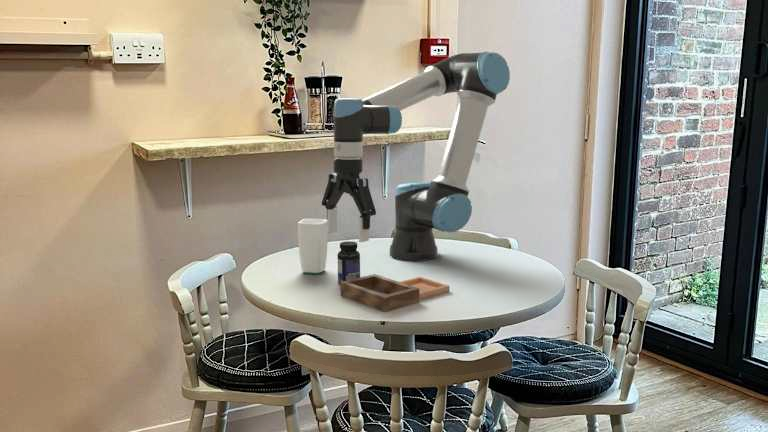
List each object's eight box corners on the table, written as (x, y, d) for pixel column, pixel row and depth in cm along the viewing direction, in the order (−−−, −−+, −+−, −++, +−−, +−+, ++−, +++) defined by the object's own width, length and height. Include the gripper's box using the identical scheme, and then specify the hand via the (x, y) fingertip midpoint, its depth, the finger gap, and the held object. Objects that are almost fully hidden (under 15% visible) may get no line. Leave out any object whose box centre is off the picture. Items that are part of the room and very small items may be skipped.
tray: (389, 290, 177) (389, 284, 177) (419, 282, 185) (419, 276, 184) (419, 300, 169) (419, 294, 169) (449, 291, 176) (449, 285, 176)
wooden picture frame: (340, 295, 173) (340, 282, 172) (374, 286, 180) (374, 274, 180) (384, 312, 160) (384, 297, 160) (419, 302, 168) (419, 288, 167)
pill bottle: (363, 280, 186) (363, 241, 184) (355, 286, 180) (355, 246, 178) (342, 278, 188) (342, 239, 186) (334, 284, 182) (333, 244, 180)
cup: (297, 274, 192) (296, 223, 189) (306, 267, 199) (305, 218, 196) (321, 276, 190) (320, 224, 187) (329, 269, 197) (329, 219, 194)
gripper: (308, 154, 184) (309, 230, 188) (367, 162, 166) (366, 247, 170) (330, 153, 189) (330, 227, 193) (390, 161, 171) (389, 243, 175)
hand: (347, 236), depth 181 cm, fingers open, 13 cm apart
